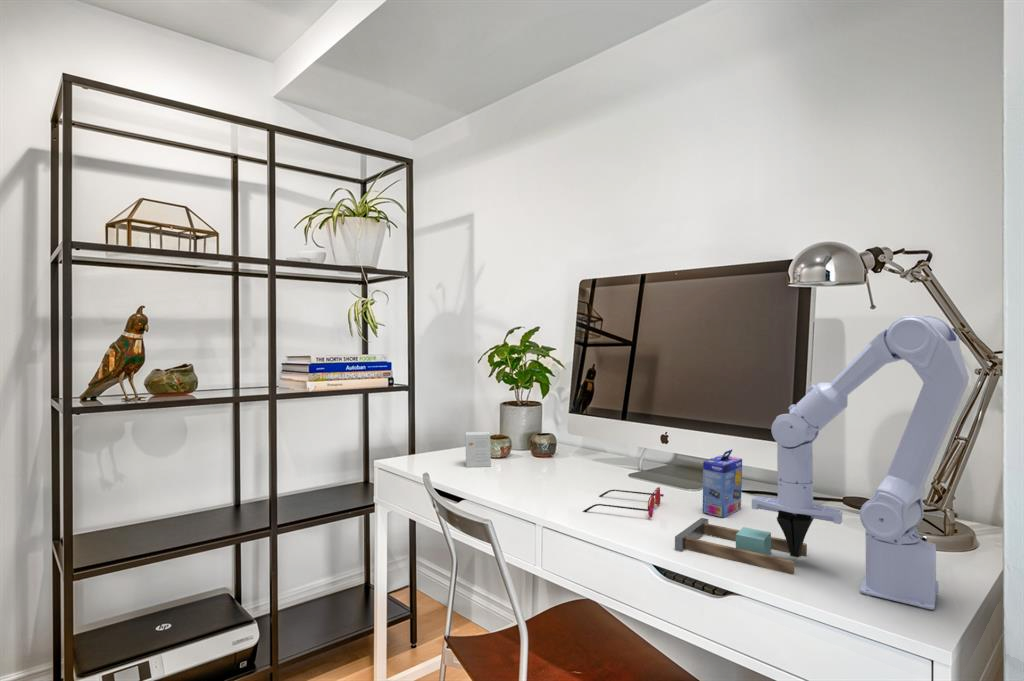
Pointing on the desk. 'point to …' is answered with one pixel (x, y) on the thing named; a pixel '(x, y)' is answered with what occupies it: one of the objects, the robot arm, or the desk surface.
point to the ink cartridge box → (722, 485)
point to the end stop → (690, 533)
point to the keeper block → (754, 540)
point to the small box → (478, 449)
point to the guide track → (741, 554)
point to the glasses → (650, 508)
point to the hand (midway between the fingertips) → (795, 555)
